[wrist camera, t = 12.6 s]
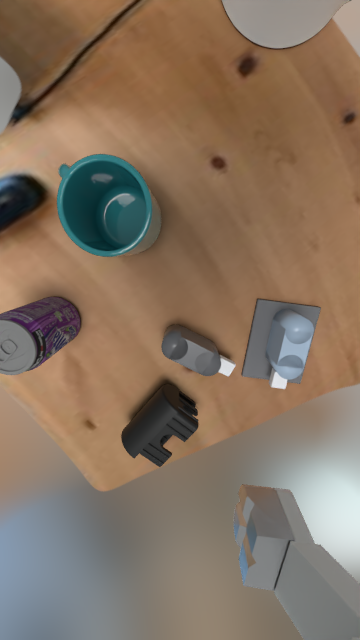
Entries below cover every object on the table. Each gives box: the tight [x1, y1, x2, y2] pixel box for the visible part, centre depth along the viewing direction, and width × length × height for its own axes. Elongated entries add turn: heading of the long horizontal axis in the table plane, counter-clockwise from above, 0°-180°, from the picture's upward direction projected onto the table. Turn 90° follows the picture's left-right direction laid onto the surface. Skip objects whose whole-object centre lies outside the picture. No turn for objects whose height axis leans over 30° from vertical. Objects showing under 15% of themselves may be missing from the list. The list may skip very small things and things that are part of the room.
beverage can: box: [0, 297, 80, 375], centre depth 34 cm, size 7×7×12 cm
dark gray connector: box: [162, 325, 236, 377], centre depth 38 cm, size 11×4×5 cm, turn 63°
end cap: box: [121, 384, 198, 467], centre depth 40 cm, size 10×7×7 cm
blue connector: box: [266, 309, 314, 389], centre depth 37 cm, size 11×4×5 cm, turn 173°
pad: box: [241, 299, 321, 384], centre depth 39 cm, size 12×9×1 cm
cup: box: [57, 154, 162, 257], centre depth 30 cm, size 9×12×11 cm
